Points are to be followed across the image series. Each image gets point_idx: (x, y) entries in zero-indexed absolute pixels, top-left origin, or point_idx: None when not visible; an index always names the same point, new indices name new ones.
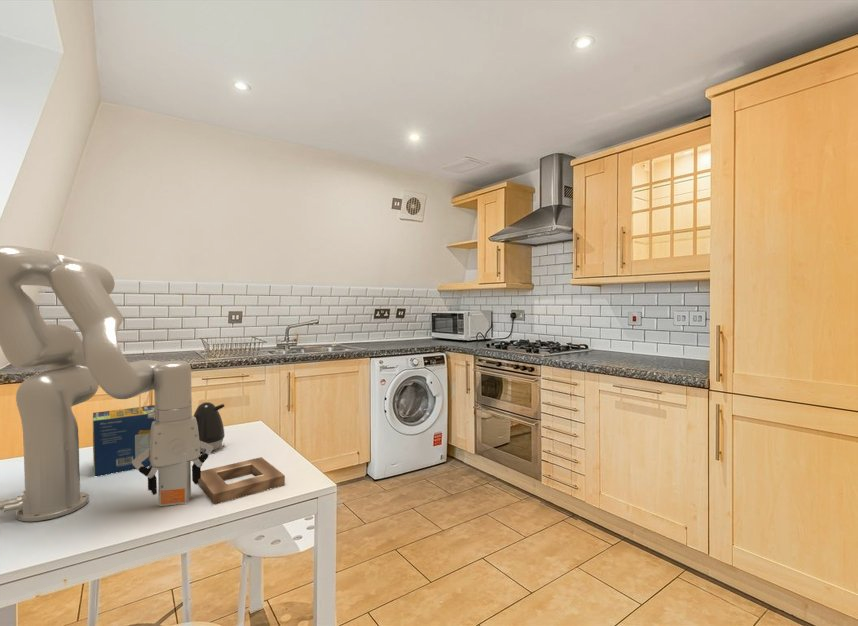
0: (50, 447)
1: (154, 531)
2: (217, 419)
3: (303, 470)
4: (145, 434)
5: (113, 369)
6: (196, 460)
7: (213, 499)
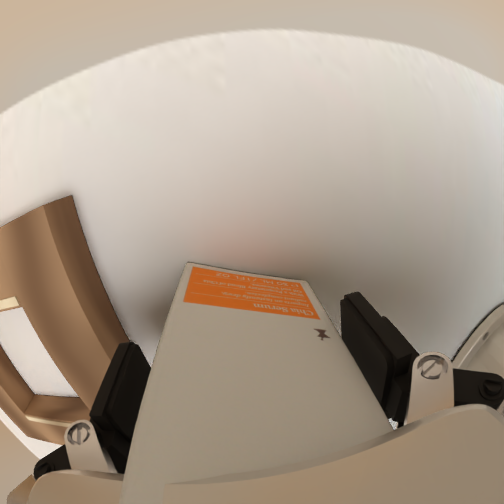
0: None
1: (310, 36)
2: None
3: None
4: None
5: None
6: (85, 467)
7: (58, 201)
